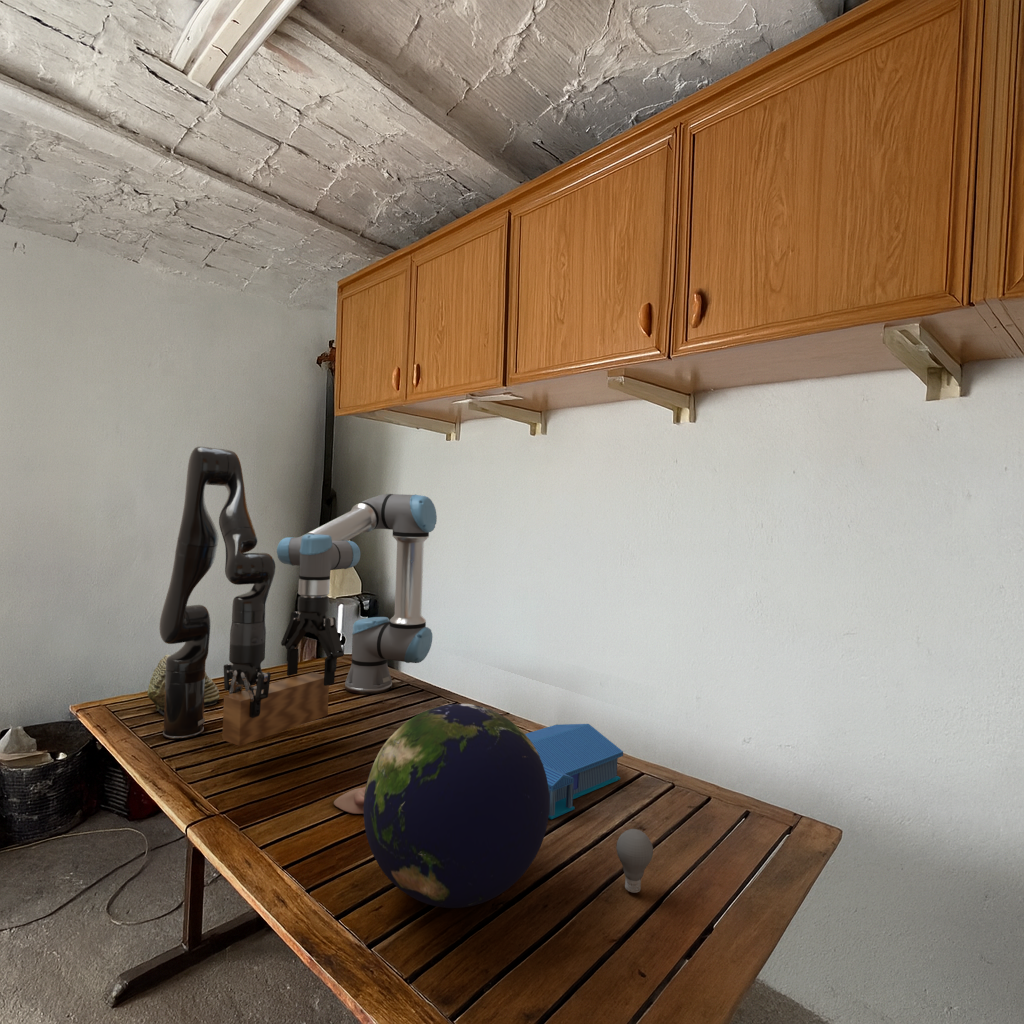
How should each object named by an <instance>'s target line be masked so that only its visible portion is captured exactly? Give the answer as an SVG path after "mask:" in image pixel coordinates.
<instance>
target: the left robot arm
mask: <svg viewBox="0 0 1024 1024" xmlns="http://www.w3.org/2000/svg"><path fill="white" fill-rule="evenodd" d="M186 471H187V472H186V483H185V491H184V492H185V494H184V501H183V502H184V503H183V509H182V515H181V521H180V524H179V525H180V526H179V530H178V535H177V541H176V546H175V551H174V560H173V565H172V572H171V576H170V581H169V585H168V589H167V593H166V596H165V599H164V603H163V607H162V611H161V614H160V618H159V636H160V638H161V640H162V641H163V642H164V644H167V645H177V644H183V643H184V644H183V645H182V647H180V649H178V650H177V651H175V652H174V653H172V654H169V655H170V656H169V657H168V658H167V660H166V674H165V705H164V710H161V708H159V709H158V710H157V711H158V713H159V714H160V715H161V716H162V717H163V731H162V737H164V738H166V739H169V740H185V739H190V738H191V739H192V738H194V737H197V736H199V735H202V734H203V732H204V730H205V729H204V724H205V722H206V721H205V720H206V719H205V706H204V693H205V672H206V664H207V663H206V662H207V658H208V655H209V651H210V650H209V649H210V637H211V625H212V623H211V622H212V621H211V616H210V613H209V610H208V608H207V607H206V606H205V605H203V604H190V605H188V602H189V599H190V597H191V595H192V593H193V591H194V590H195V588H196V587H197V585H198V584H199V583H200V582H201V580H202V579H203V578H204V577H205V576H206V574H207V573H208V572H209V570H210V569H211V568H212V566H213V564H214V563H215V560H216V556H217V551H218V546H219V545H218V544H219V533H218V529H217V527H216V525H215V522H214V521H213V519H212V517H211V515H210V513H209V511H208V508H207V505H206V502H205V501H206V500H205V491H206V490H205V489H206V486H217V487H225V489H226V490H227V498H226V501H225V502H224V504H223V506H222V507H221V511H220V513H219V517H218V526H219V529H220V533H221V536H222V539H223V542H224V547H225V563H224V564H225V565H224V574H225V577H226V578H227V580H228V581H229V582H230V583H231V584H233V585H235V586H241V585H252V586H251V589H250V590H249V591H247V592H245V593H241V594H238V595H236V596H235V597H234V598H233V600H232V608H231V609H232V610H231V626H230V630H229V653H228V661H229V663H227V664H224V665H223V686H224V688H223V689H224V691H226V692H227V691H228V695H229V694H232V693H236V692H240V691H243V689H245V690H246V692H248V693H249V697H250V700H251V701H250V715H249V716H250V717H251V718H254V717H257V716H259V715H260V707H261V700H262V699H265V698H267V697H268V692H269V684H270V683H271V676H272V675H271V672H270V671H268V672H264V671H263V670H262V667H261V664H262V662H264V660H265V659H266V639H267V638H266V637H267V636H266V635H267V628H266V611H267V610H266V605H267V600H268V597H269V594H270V590H271V587H272V584H273V581H274V578H275V574H276V562H275V559H274V558H273V556H272V555H271V554H270V553H267V552H251V551H253V549H255V548H256V546H257V545H258V536H257V533H256V530H255V527H254V524H253V522H252V519H251V516H250V512H249V509H248V503H247V502H248V501H247V496H246V488H245V481H244V476H243V469H242V464H241V461H240V458H239V455H238V454H237V453H236V452H235V451H232V450H229V449H223V448H216V447H209V446H197V447H196V446H195V447H194V448H193V450H192V451H191V453H190V455H189V458H188V464H187V470H186ZM249 552H250V553H249ZM263 689H264V690H263ZM254 690H256V695H254ZM262 690H263V693H262Z"/></svg>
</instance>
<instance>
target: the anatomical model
mask: <svg viewBox="0 0 1024 1024" xmlns="http://www.w3.org/2000/svg"><path fill="white" fill-rule="evenodd" d="M365 789H366V786H364V787H358V788H355V789H351V790H349V791H346V792H345V793H342V794H341V795H340V796H338V797H337V798H336V799H335V800H334V801H333V805H334V806H335V807H336V808H338V809H340V810H341V811H344V812H347V813H348V814H354V815H357V814H358V815H361V814H362V815H364V808H363V806H364V795H365Z"/></svg>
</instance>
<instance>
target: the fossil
mask: <svg viewBox="0 0 1024 1024" xmlns="http://www.w3.org/2000/svg"><path fill="white" fill-rule="evenodd" d="M170 655H171V654H165V655H164V656H163V657H162V658H161V659H160V660H159V662H158V663H157V666H156V667H155V669H154V670H153V672H152V675H151V677H150V680H149V684H148V688H147V697H148V699H149V700H150V701H152V703H153V704H154V706H155V711H159V710H158V709H159V708H161V710H162V711H164V705H165V674H166V660H167V658H168V657H169V656H170ZM220 698H221V696H220V690H219V688H218V686H217V685H216V683H215V682H214V681H213V679H212V678H211V677H209V675H208V674H207V672H206V671H205V693H204V707H207V706H213V705H215V704H217V703H218V701H219V699H220Z"/></svg>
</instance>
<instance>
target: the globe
mask: <svg viewBox="0 0 1024 1024" xmlns="http://www.w3.org/2000/svg"><path fill="white" fill-rule="evenodd" d="M525 734H526V733H525V732H524V731H523V730H522V729H521V728H520V727H519V726H517V724H515V723H514V722H513V721H512V720H510V719H509V718H507V717H505V716H504V715H503V714H501V713H498V712H497V711H494V710H493V709H490V708H486V707H484V706H479V705H476V704H472V703H450V704H444V705H440V706H439V705H438V706H436V707H432V708H429V709H427V710H425V711H423V712H420V713H419V714H416V715H415V716H413V717H412V718H410V719H408V720H407V721H406V722H404V723H403V724H401V726H400V727H398V729H396V730H395V731H394V732H393V734H392V735H391V736H390V737H388V739H387V740H386V741H385V742H384V744H383V745H382V747H381V748H380V750H379V752H378V753H377V755H376V758H375V759H374V762H373V764H372V766H371V768H370V771H369V774H368V778H367V781H366V783H365V787H366V789H365V795H364V806H363V808H364V814H363V824H364V830H365V835H366V839H367V842H368V845H369V848H370V851H371V854H372V856H373V858H374V859H375V861H376V863H377V864H378V867H379V868H380V869H381V871H382V872H383V874H384V875H385V876H386V877H387V878H388V879H389V881H390V882H391V883H392V884H393V885H394V886H395V887H396V888H398V890H400V891H402V893H404V894H406V895H407V896H409V897H411V898H413V899H414V900H415V901H418V902H421V903H423V904H425V905H429V906H433V907H437V908H442V909H443V908H444V909H462V908H470V907H474V906H477V905H480V904H484V903H487V902H489V901H491V900H493V899H495V898H496V897H498V896H500V895H501V894H503V893H505V892H506V891H508V890H509V889H510V888H511V887H512V886H513V885H515V884H516V883H517V882H518V881H519V880H520V879H521V878H522V876H524V874H525V873H526V872H527V870H528V869H529V868H530V866H531V865H532V864H533V862H534V860H535V858H536V857H537V855H538V853H539V851H540V848H541V846H542V844H543V841H544V839H545V835H546V832H547V827H548V823H549V818H548V817H549V788H548V782H547V777H546V773H545V770H544V766H543V764H542V761H541V759H540V756H539V754H538V752H537V750H536V749H535V747H534V745H533V744H532V742H531V741H530V739H529V738H528V737H527V736H526V735H525Z"/></svg>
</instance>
